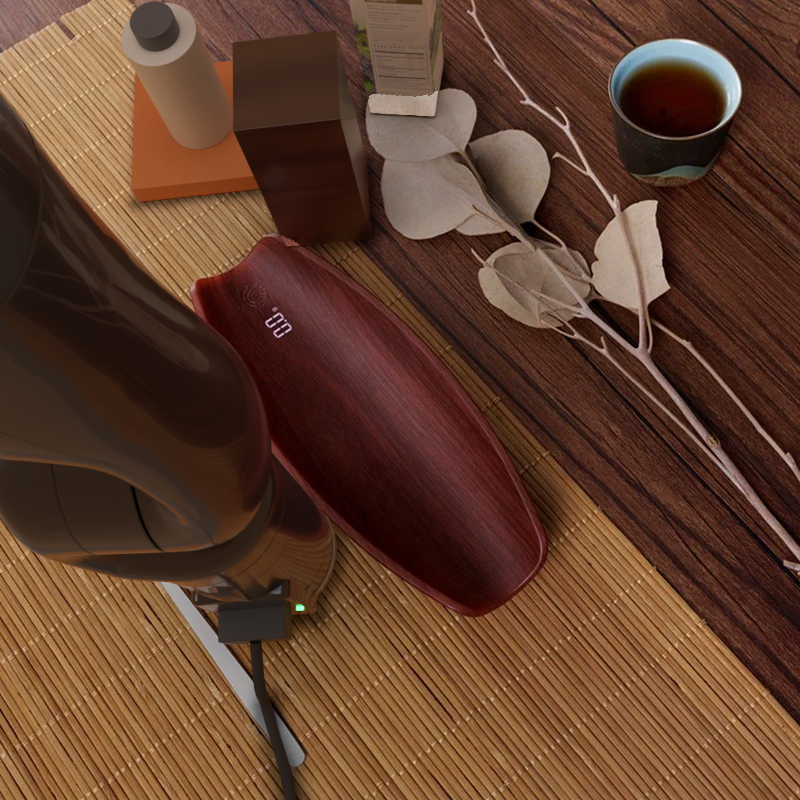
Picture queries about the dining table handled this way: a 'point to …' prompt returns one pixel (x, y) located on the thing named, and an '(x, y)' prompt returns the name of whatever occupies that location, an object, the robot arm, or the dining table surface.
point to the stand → (183, 155)
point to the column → (302, 136)
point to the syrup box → (399, 45)
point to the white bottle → (178, 74)
